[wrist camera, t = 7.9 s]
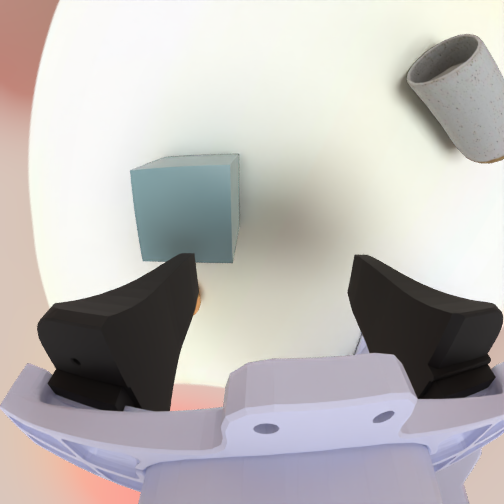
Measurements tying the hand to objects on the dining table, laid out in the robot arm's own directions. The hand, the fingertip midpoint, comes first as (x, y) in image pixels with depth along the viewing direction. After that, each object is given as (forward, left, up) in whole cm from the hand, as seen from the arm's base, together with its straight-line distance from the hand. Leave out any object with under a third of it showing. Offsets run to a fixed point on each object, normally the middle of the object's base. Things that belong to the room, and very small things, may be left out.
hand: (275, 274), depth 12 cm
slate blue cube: (+2, +5, -9) cm, 11 cm away
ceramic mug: (+12, -15, -10) cm, 22 cm away
